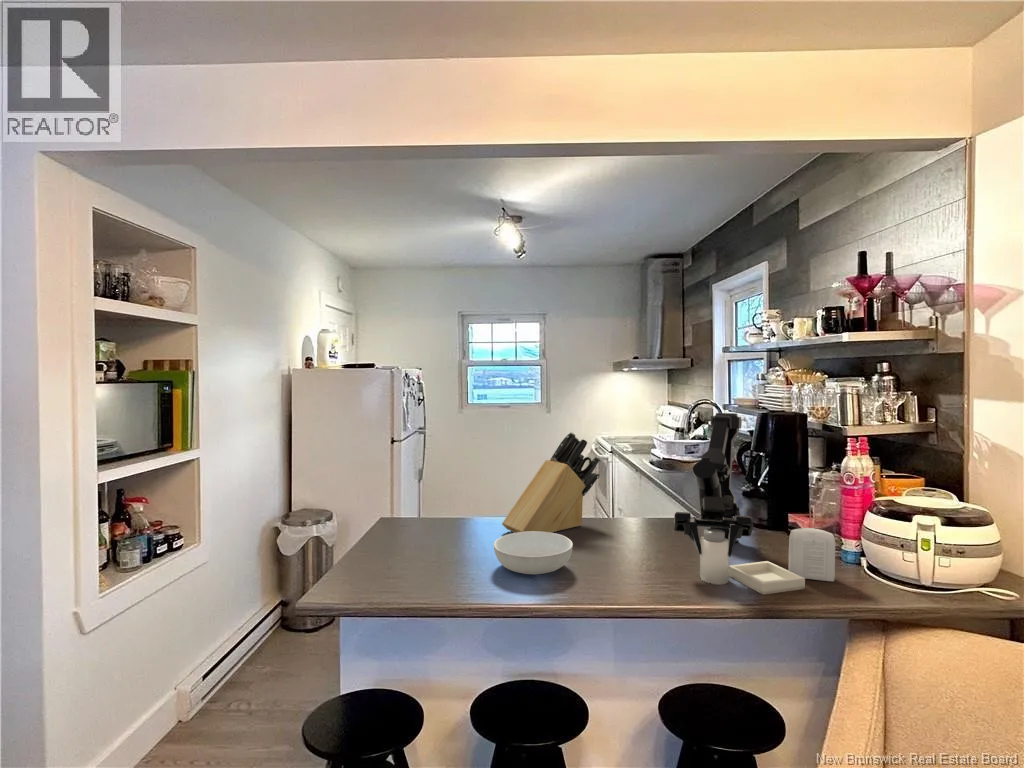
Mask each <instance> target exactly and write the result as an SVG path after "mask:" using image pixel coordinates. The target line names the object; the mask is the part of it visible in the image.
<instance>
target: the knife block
mask: <svg viewBox="0 0 1024 768" xmlns="http://www.w3.org/2000/svg"><path fill="white" fill-rule="evenodd" d="M587 444H588V442H587V440H585V439H583V438H582V439H581V440H579V438H577V437H576V434H575V433H574V432H572V431H571V432H570V433H568V434H567V435H566V436H565V437H564V438H563V440H562V441H561V442H560V444H559V445H558V447H556V450H555V451H554V453H552V456H551V457H550V459H549V460H548V459H546V460H545V461H543V463H542V464H541V466H540V467H539V469H538V471H537V472H536V473H535V474H534V476H533V477H532V479H531V480H530V482H529V483H528V485H527V486H526V488H525V489H524V490H523V492H522V494H521V495H520V496H519V498H518V499H517V501H516V502H515V504H514V505H513V506H512V508H510V511H509V512H508V514H507V515H506V517H505V518H504V520H503V521H502V522H501V525H502V526H503V527H504V528H505V529H506V530H507V531H510V532H513V533H517V532H527V531H540V532H550V533H554V532H555V533H556V532H558V531H562V530H567V529H571V528H577V527H579V526H582V525H583V497H585V495H586V494H588V492H589V491H590V489H591V488H592V487H593V486H594V484H595V482H597V480H598V479H599V478H600V474H599V473H596V472H594V470H595V469H596V467H597V465H598V464H599V463H600V461H601V459H600V458H599V457H598V456H596V457H594V458H593V459H591V457H590V456H586V457H585V456H584V455H583V454H582V453H583V452H584V450H585V448H586V446H587ZM587 461H588V465H587V466H586V467H585V468H584V469H583V467H584V465H585V463H586V462H587Z"/></svg>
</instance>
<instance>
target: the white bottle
mask: <svg viewBox="0 0 1024 768" xmlns="http://www.w3.org/2000/svg"><path fill="white" fill-rule="evenodd" d="M699 541H700V546H701V554H699V577H700V578H701V579H700V580H701V581H702V580H703V581H702V582H704V581H705V582H704V583H706V584H710V583H711V585H727V584H728V583H729V576H728V566H729V541H728V539H726V538H725V532H724V531H722V530H719V529H710V528H706V529H703V536H700V537H699Z"/></svg>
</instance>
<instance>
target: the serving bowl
mask: <svg viewBox="0 0 1024 768" xmlns="http://www.w3.org/2000/svg"><path fill="white" fill-rule="evenodd" d="M573 546H574V544H573V541H572V540H571V539H570V538H568V537H567V536H565V535H563V534H561V533H556V532H555V533H554V532H552V533H550V532H540V531H527V532H517V533H515V532H513V533H509V534H505V535H502V536H500V537H498V538H497V539H495V541H494V542H493V550H494V555H495V557H496V559H497V561H498V563H500V564H501V565H502V566H503V567H504V568H506V569H507V570H509V571H512V572H514V573H518V574H524V575H542V574H549V573H552V572H555V571H557V570H559V569H561V568H562V567H564V566H565V565H566V564H567V563H568V561H569V560H570V558H571V556H572V552H573Z"/></svg>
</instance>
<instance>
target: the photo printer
mask: <svg viewBox="0 0 1024 768" xmlns="http://www.w3.org/2000/svg"><path fill="white" fill-rule="evenodd" d="M788 537H789V538H788V568H787V570H788V571H790V572H793V573H795V574H797V575H799V576H801V577H803V578H805V580H814V581H815V580H816V581H822V582H825V581H826V582H832V583H833V582H835V570H836V566H835V565H836V563H835V562H836V540H835V536H834V534H833V533H831V532H829V531H827V530H823V529H817V528H812V527H802V528H794V529H791V530H790V534H789V536H788Z"/></svg>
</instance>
